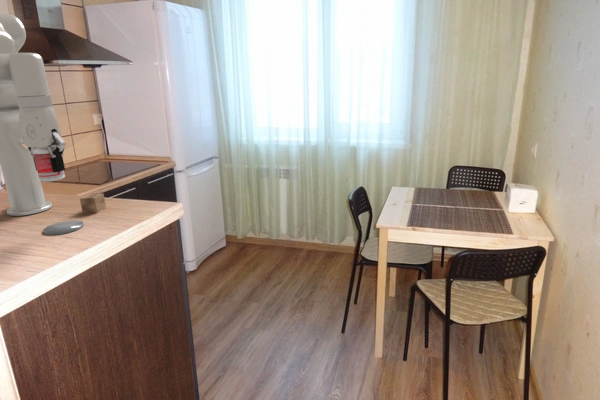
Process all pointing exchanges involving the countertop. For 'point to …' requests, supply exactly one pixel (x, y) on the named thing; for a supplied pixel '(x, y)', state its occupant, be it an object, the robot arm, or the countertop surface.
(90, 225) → the countertop surface
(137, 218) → the countertop surface
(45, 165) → the pill bottle
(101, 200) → the light brown wooden block
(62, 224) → the coaster
